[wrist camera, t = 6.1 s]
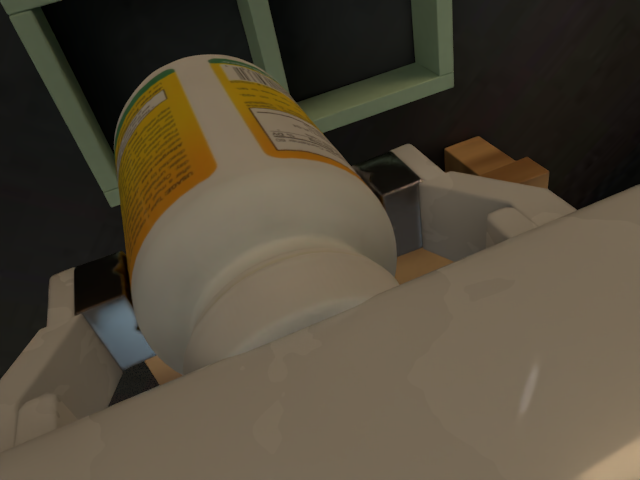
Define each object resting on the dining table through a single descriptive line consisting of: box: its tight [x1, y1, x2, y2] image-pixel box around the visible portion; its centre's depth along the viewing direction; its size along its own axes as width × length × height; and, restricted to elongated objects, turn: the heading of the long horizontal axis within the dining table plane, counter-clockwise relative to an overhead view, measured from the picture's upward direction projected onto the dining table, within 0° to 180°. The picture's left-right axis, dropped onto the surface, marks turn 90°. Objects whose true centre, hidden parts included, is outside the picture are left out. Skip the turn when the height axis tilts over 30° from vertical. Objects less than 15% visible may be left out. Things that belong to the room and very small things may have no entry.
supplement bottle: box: [114, 54, 399, 376], centre depth 12 cm, size 5×5×10 cm
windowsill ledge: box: [145, 136, 549, 385], centre depth 29 cm, size 10×22×8 cm, turn 101°
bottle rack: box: [0, 0, 454, 207], centre depth 23 cm, size 9×17×2 cm, turn 101°
